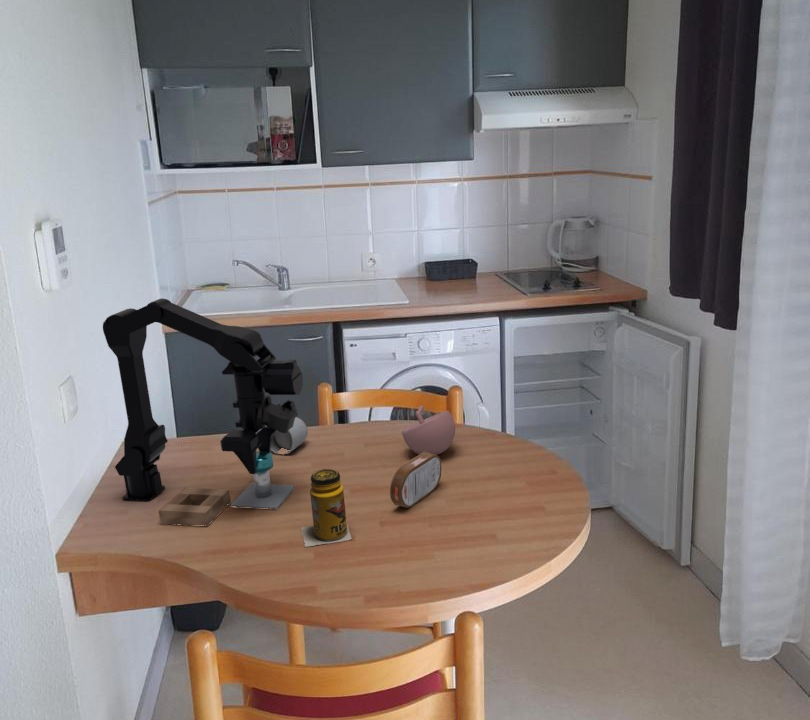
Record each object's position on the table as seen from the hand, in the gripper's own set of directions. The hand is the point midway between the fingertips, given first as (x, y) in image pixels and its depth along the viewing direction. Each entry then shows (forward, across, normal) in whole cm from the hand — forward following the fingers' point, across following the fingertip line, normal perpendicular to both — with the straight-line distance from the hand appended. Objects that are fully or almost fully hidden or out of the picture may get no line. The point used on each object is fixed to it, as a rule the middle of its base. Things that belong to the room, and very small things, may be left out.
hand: (259, 466), depth 152 cm
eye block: (+7, -8, +11) cm, 15 cm away
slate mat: (+7, 0, 0) cm, 7 cm away
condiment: (+7, -13, -18) cm, 23 cm away
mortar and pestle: (+7, +25, -30) cm, 40 cm away
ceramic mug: (+7, +25, +6) cm, 27 cm away
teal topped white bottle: (+6, 0, 0) cm, 6 cm away
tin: (+7, +3, -32) cm, 33 cm away
